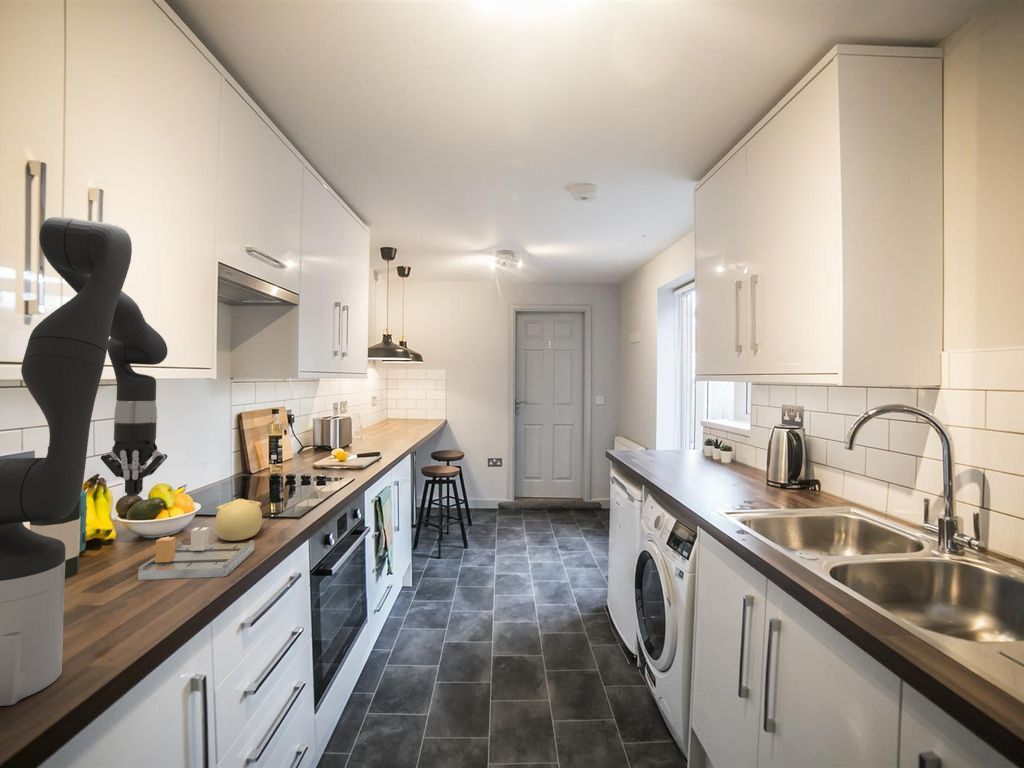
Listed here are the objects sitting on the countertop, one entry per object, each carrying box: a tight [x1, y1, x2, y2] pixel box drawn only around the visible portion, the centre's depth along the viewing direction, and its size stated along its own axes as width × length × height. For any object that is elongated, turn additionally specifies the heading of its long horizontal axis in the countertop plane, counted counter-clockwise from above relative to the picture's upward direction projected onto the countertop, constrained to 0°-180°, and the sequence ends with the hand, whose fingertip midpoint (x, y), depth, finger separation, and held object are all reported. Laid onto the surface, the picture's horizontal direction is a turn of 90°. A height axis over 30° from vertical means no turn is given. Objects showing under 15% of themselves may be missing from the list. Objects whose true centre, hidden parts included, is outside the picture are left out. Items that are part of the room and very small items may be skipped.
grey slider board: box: [137, 539, 255, 581], centre depth 110 cm, size 16×18×3 cm
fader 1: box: [154, 536, 177, 562], centre depth 105 cm, size 2×3×5 cm
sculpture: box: [214, 498, 263, 542], centre depth 129 cm, size 12×12×11 cm
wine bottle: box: [29, 445, 81, 580], centre depth 101 cm, size 8×8×30 cm
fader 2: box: [190, 526, 210, 551], centre depth 113 cm, size 2×3×5 cm
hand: (133, 494), depth 104 cm, fingers closed
